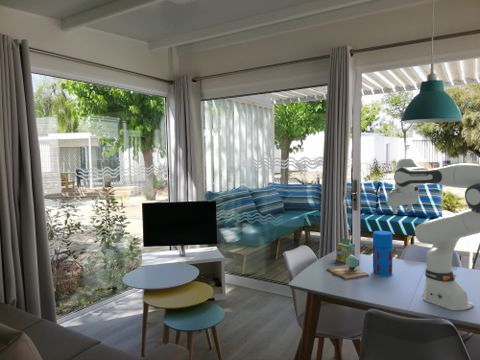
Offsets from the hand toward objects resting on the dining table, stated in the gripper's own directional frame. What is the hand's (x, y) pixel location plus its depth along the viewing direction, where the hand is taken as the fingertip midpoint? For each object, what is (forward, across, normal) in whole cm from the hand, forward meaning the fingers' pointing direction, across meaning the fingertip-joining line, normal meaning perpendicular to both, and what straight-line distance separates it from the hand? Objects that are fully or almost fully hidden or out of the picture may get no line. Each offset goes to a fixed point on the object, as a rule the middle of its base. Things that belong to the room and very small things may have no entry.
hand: (401, 212), depth 206 cm
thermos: (+41, +1, +11) cm, 42 cm away
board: (+42, -16, +22) cm, 50 cm away
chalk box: (+44, 0, +42) cm, 61 cm away
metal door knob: (+41, -12, +22) cm, 48 cm away
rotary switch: (+38, -12, +22) cm, 45 cm away
